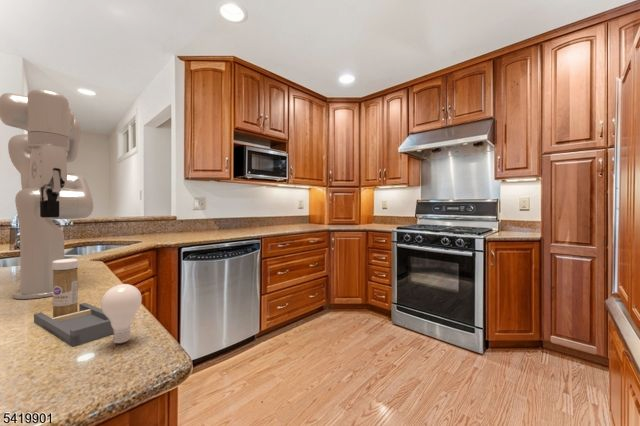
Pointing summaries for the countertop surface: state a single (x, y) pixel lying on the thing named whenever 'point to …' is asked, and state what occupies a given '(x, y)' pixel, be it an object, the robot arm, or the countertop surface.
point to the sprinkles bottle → (65, 287)
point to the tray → (77, 325)
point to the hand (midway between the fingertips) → (49, 217)
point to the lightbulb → (121, 309)
